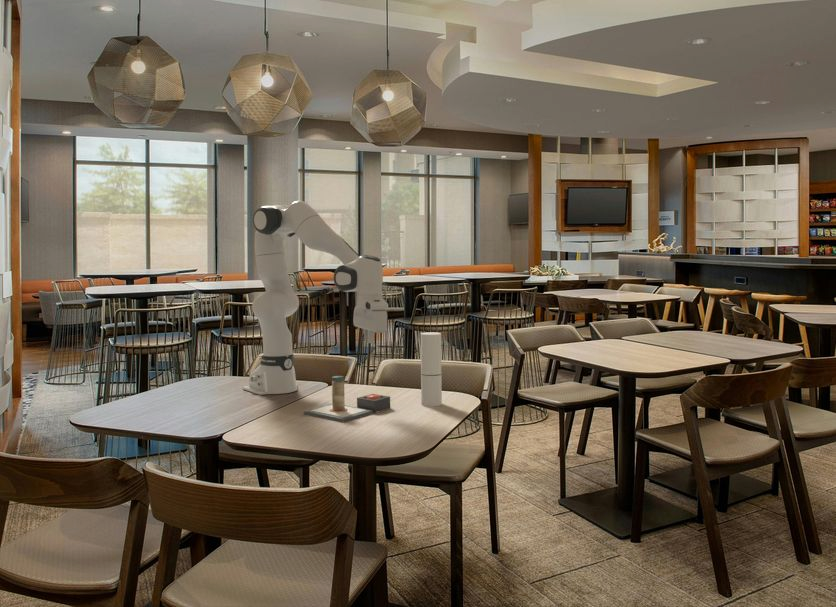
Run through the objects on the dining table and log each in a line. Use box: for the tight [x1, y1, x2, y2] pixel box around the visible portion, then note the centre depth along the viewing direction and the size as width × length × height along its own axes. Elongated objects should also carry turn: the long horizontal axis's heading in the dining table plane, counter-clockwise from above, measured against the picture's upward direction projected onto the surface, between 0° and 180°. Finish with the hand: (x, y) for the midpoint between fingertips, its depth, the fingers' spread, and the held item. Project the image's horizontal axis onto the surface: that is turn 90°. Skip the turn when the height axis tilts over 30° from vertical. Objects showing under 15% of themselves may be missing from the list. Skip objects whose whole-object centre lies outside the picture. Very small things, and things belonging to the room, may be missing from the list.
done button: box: [367, 394, 381, 400], centre depth 227 cm, size 5×5×3 cm
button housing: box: [356, 393, 391, 414], centre depth 227 cm, size 8×8×4 cm
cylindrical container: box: [420, 331, 443, 407], centre depth 232 cm, size 7×7×25 cm
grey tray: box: [303, 403, 374, 423], centre depth 221 cm, size 18×14×1 cm
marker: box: [331, 375, 345, 411], centre depth 220 cm, size 4×4×11 cm
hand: (368, 342), depth 230 cm, fingers closed
